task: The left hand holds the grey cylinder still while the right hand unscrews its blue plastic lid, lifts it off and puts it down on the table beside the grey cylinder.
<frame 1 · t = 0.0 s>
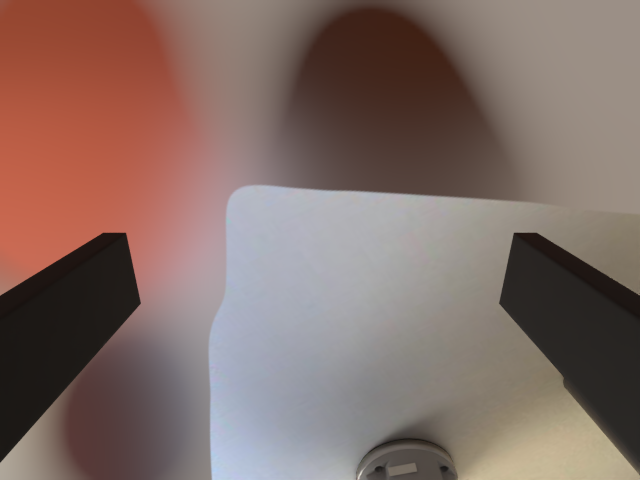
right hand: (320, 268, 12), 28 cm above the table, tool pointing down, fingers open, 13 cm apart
grey cylinder: (578, 379, 50), on the table
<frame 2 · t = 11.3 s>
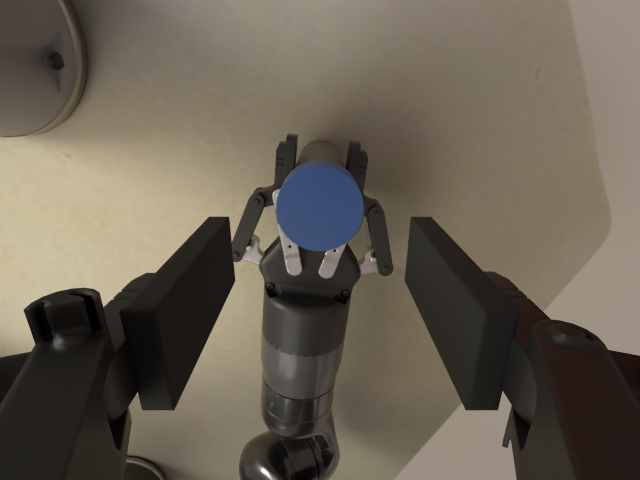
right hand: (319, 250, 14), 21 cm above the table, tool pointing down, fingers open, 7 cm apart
left hand: (323, 139, 27), fingers closed on grey cylinder, 4 cm apart
grey cylinder: (319, 162, 34), on the table, touching left hand
lid: (319, 208, 19), point 16 cm above the table, screwed on, not yet turned
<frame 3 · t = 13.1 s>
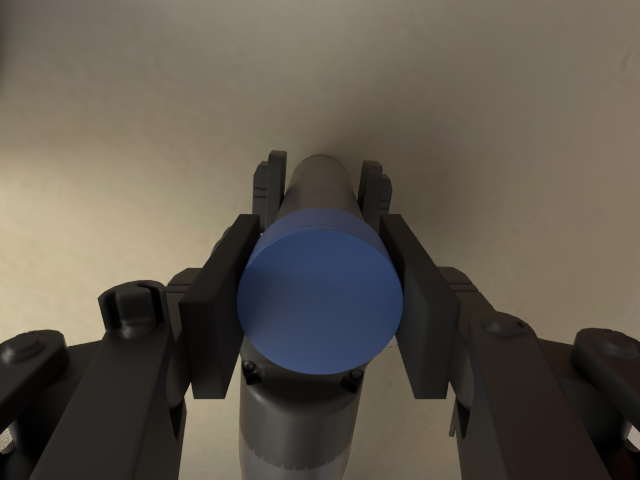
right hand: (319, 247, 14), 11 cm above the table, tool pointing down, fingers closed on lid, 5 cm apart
grey cylinder: (319, 184, 25), on the table, touching left hand
lid: (319, 301, 10), point 16 cm above the table, screwed on, not yet turned, touching right hand
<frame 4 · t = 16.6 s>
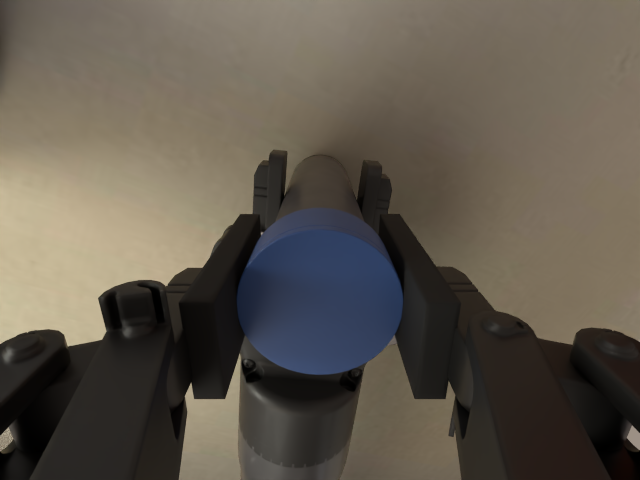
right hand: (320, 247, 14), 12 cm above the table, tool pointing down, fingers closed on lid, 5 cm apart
grey cylinder: (319, 184, 25), on the table, touching left hand
lid: (319, 302, 10), point 16 cm above the table, turned 108° so far, risen 0.1 cm, still on its thread, touching right hand
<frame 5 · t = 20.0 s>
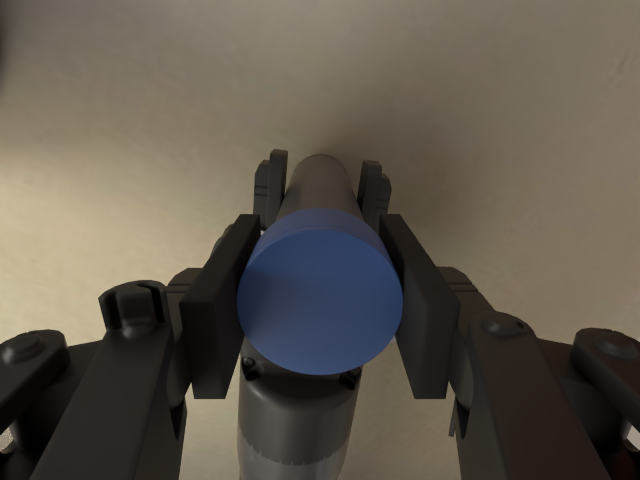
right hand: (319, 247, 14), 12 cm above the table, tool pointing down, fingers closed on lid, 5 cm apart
grey cylinder: (319, 183, 25), on the table, touching left hand
lid: (319, 302, 10), point 16 cm above the table, turned 216° so far, risen 0.3 cm, still on its thread, touching right hand
when the right hand's fingers open (0 cm above the table, at t = 30.9 s): lid drops 3 cm, point 2 cm above the table.
when the left hand's fingers open (7 cm above the table, at t = 31.5 s): grey cylinder stays where it is, on the table.
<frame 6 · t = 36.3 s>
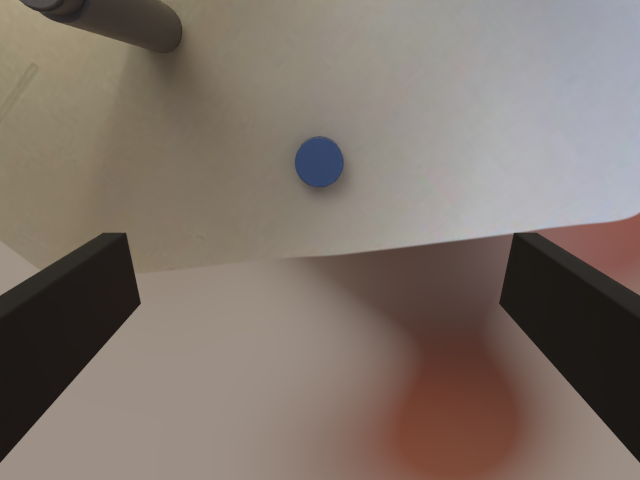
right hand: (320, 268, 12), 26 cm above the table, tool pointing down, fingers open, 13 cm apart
grey cylinder: (159, 28, 33), on the table
lid: (319, 162, 35), point 2 cm above the table, off its thread
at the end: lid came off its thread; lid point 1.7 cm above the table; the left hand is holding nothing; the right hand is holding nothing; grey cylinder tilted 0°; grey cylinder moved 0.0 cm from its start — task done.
